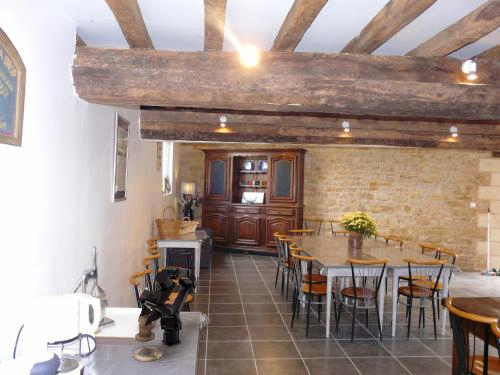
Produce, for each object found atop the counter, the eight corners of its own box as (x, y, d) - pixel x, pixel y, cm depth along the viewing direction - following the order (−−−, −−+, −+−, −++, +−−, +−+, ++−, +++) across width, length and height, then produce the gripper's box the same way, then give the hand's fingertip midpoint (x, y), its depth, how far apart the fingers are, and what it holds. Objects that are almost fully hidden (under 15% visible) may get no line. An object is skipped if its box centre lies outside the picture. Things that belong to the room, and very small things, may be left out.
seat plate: (154, 346, 182) (154, 340, 182) (168, 355, 173) (168, 348, 173) (128, 354, 174) (128, 347, 174) (142, 364, 165) (142, 356, 165)
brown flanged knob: (149, 333, 179) (149, 312, 179) (158, 338, 173) (158, 317, 173) (131, 337, 174) (132, 317, 174) (140, 343, 168) (140, 322, 168)
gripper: (141, 278, 182) (118, 308, 175) (165, 286, 169) (142, 318, 162) (156, 292, 188) (135, 321, 181) (181, 301, 175) (159, 333, 168)
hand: (142, 323), depth 173 cm, fingers closed on brown flanged knob, 5 cm apart
